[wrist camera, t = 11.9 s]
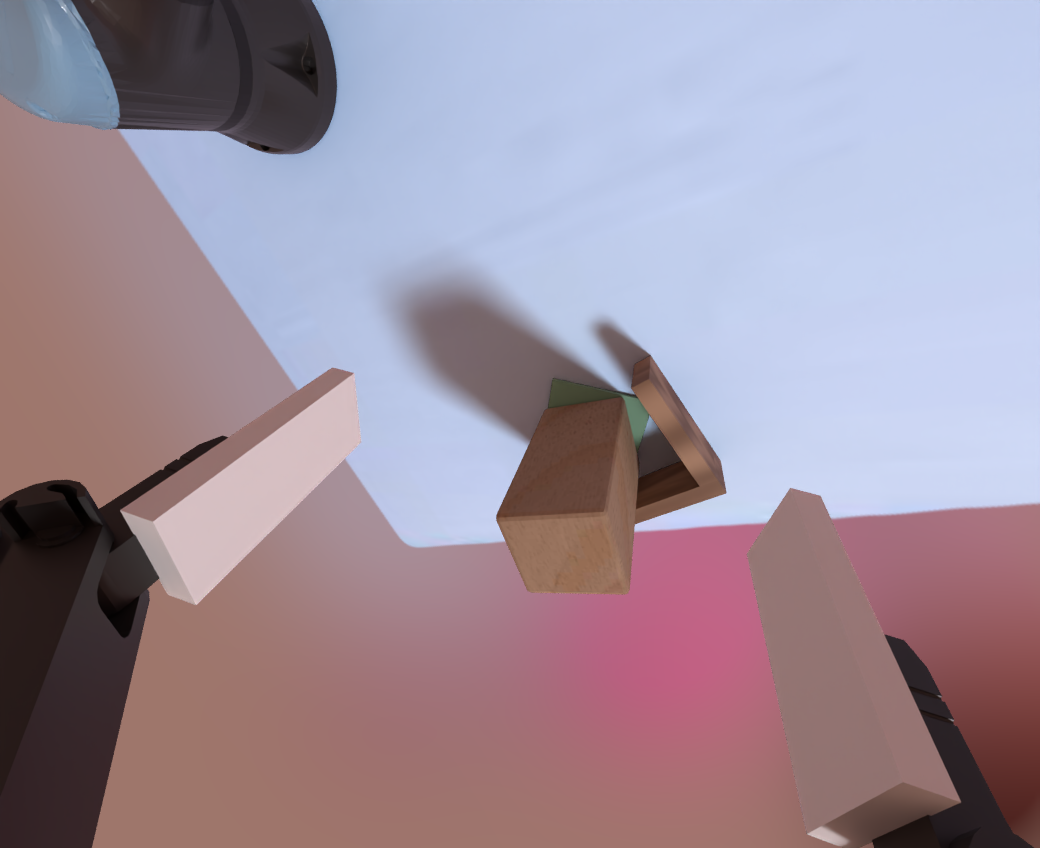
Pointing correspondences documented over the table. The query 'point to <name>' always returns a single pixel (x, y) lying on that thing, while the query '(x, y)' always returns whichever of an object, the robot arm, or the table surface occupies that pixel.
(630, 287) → the table surface
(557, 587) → the wooden block
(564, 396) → the pad
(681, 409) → the wooden corner bracket
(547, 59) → the table surface
